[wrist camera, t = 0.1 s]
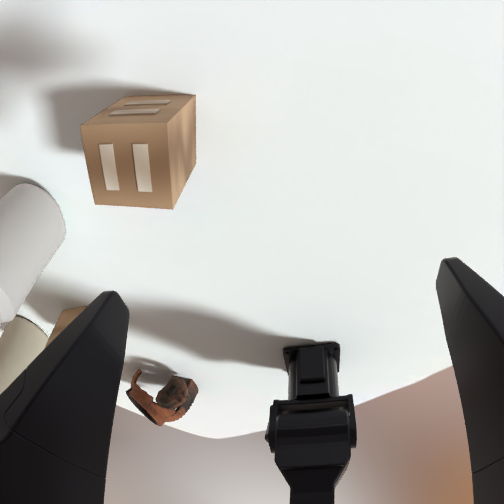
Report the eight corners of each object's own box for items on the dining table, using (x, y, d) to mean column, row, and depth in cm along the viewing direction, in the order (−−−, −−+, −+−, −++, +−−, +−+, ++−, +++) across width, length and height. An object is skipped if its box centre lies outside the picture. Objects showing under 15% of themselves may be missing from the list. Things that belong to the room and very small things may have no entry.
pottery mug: (191, 397, 49) (158, 430, 44) (152, 356, 49) (116, 388, 44) (220, 394, 40) (179, 437, 35) (171, 342, 40) (126, 383, 35)
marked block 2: (111, 330, 37) (95, 371, 32) (86, 333, 38) (70, 371, 34) (86, 305, 34) (67, 346, 29) (62, 310, 36) (43, 348, 31)
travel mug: (9, 324, 41) (-33, 413, 27) (14, 307, 37) (-35, 409, 23) (45, 350, 44) (10, 440, 31) (56, 337, 41) (15, 441, 27)
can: (13, 226, 27) (-49, 310, 18) (11, 167, 22) (-73, 253, 13) (68, 253, 29) (12, 349, 20) (73, 194, 24) (-6, 298, 15)
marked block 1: (196, 163, 22) (172, 210, 17) (131, 160, 22) (94, 205, 17) (195, 93, 19) (166, 121, 14) (125, 95, 19) (79, 124, 14)
